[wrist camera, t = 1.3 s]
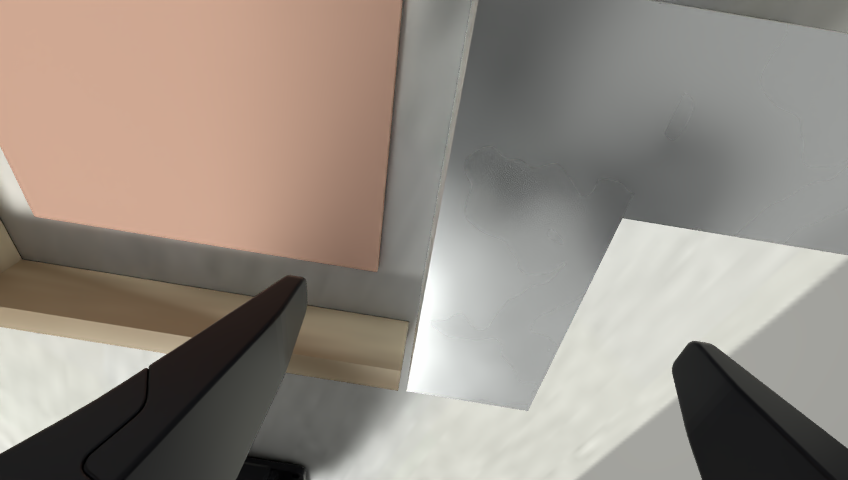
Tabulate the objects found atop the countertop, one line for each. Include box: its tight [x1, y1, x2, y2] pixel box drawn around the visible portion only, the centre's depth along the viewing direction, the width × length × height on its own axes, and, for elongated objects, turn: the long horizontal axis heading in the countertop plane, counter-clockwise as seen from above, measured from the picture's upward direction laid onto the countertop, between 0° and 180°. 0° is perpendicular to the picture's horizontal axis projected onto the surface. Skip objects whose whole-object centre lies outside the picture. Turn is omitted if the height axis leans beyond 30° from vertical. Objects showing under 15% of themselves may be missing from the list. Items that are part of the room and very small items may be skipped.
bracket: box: [407, 0, 848, 411], centre depth 11 cm, size 10×8×5 cm
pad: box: [0, 0, 403, 272], centre depth 12 cm, size 11×13×1 cm
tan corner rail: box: [0, 220, 409, 391], centre depth 12 cm, size 15×18×2 cm
